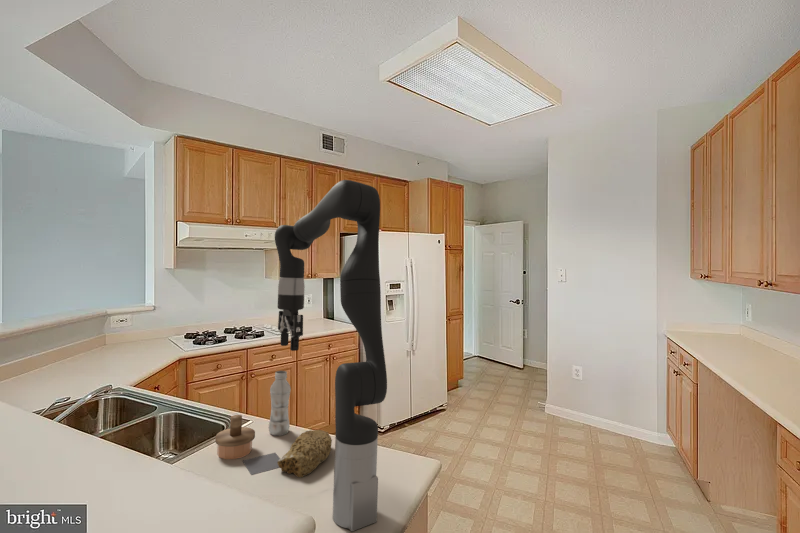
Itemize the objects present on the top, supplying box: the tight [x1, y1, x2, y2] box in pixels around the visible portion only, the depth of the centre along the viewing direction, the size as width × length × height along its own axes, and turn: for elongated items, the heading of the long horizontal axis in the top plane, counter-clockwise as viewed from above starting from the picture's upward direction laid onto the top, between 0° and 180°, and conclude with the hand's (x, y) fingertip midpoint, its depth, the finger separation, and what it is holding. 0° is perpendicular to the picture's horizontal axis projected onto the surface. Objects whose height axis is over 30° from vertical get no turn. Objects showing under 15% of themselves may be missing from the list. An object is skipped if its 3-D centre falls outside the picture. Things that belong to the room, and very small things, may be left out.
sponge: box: [277, 429, 333, 478], centre depth 109 cm, size 13×8×20 cm
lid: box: [214, 414, 256, 447], centre depth 112 cm, size 10×10×6 cm
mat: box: [241, 452, 281, 476], centre depth 106 cm, size 9×9×1 cm
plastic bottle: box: [268, 370, 291, 437], centre depth 126 cm, size 6×7×20 cm
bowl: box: [216, 440, 253, 460], centre depth 112 cm, size 9×9×4 cm
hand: (289, 347), depth 116 cm, fingers open, 8 cm apart
